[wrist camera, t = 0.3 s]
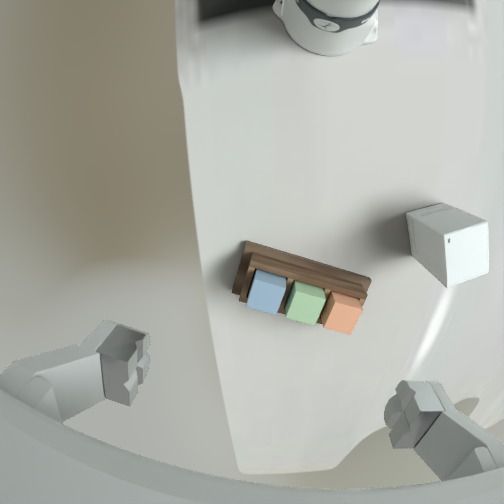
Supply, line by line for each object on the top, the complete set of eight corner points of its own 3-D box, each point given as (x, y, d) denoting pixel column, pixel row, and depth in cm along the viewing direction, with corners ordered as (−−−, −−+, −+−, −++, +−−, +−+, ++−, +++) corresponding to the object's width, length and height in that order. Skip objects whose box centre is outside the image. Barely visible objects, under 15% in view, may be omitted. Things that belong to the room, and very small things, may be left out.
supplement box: (410, 257, 55) (445, 290, 41) (404, 212, 52) (441, 234, 38) (449, 245, 53) (489, 274, 39) (445, 201, 51) (488, 220, 37)
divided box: (246, 240, 57) (243, 251, 51) (369, 277, 57) (378, 291, 51) (232, 289, 60) (227, 304, 54) (349, 321, 60) (355, 338, 54)
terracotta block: (330, 288, 53) (335, 302, 48) (356, 296, 53) (362, 309, 49) (320, 313, 55) (323, 327, 50) (345, 319, 55) (350, 334, 50)
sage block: (294, 278, 53) (296, 291, 48) (322, 286, 53) (325, 299, 48) (285, 303, 55) (285, 317, 50) (312, 310, 55) (314, 325, 50)
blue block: (257, 267, 53) (254, 279, 48) (285, 275, 53) (286, 288, 48) (248, 292, 55) (246, 306, 50) (276, 300, 55) (276, 315, 50)
